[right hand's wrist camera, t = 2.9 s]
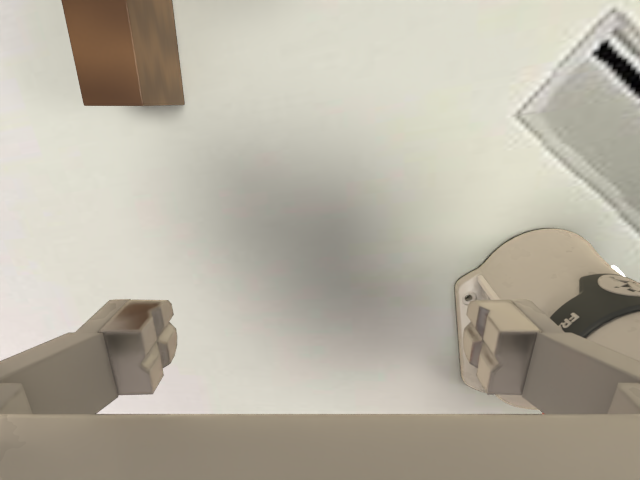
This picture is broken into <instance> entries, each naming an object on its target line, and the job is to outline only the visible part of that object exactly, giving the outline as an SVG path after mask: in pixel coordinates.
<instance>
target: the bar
mask: <svg viewBox="0 0 640 480" xmlns="http://www.w3.org/2000/svg"><path fill="white" fill-rule="evenodd" d="M62 4H63V9H64V14H65V18H66V23H67V28H68V33H69V37H70V42H71V47H72V51H73V56H74V61H75V66H76V70H77V75H78V80H79V84H80V89H81V94H82V98H83V103H84V105H85V106H154V105H184V96H183V87H182V79H181V71H180V63H179V54H178V46H177V38H176V30H175V21H174V13H173V5H172V0H62Z"/></svg>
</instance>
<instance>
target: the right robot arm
mask: <svg viewBox="0 0 640 480" xmlns="http://www.w3.org/2000/svg"><path fill="white" fill-rule="evenodd" d="M467 295H470V296H469V297H468V298H465V297H466V296H467ZM455 298H456V312H457V326H458V339H459V353H460V367H461V377H462V380H463V381H464V382H465V384H466V385H468V386H469V387H471V388H473V389H475V390H478V391H481V392H485V393H487V394H495V395H496V396H497V397H498V398H499V399H500V400H502V401H503V402H505V403H507V404H509V405H512V406H515V407H520V408H525V409H534V410H540V411H541V412H542V414H96V413H98V412H99V411H100V410H102V409H103V408H104V407H106V406H107V405H108V404H109V403H111V402H112V401H113V400H115V399H116V398H117V397H118V395H141V394H153V393H154V391H155V390H156V388H157V386H158V384H159V383H160V381H161V379H162V377H163V376H164V374H163V368H164V367H166V366H167V365H169V364H170V363H171V362H172V360H173V358H174V356H175V352H176V348H177V332H176V328H175V327H174V326H173V325H172V324H171V323H170V322H169V321H170V320H171V318H172V316H173V315H174V314H173V309H172V304H171V303H170V302H169V301H168V300H131V299H116V300H109V301H108V302H107V303H106V304H105V305H104V306H103V307H102V308H101V309H100V310H99V311H97V312H96V313H95V314H94V315H93V316H92V317H91V318H90V319H89V320H88V321H87V322H86V323H85V324H84V325H82V326H81V327H80V328H79V329H78V330H77V331H76V332H75V333H67V334H64V335H62V336H59V337H57V338H55V339H52V340H50V341H47V342H45V343H43V344H40V345H38V346H35V347H33V348H31V349H28V350H26V351H23V352H21V353H19V354H16V355H14V356H11V357H9V358H7V359H4V360H2V361H0V480H640V283H638V282H636V281H634V280H632V279H629V278H627V277H625V276H624V274H623V273H622V272H621V271H620V270H619V269H618V268H617V267H616V266H614V265H612V266H610V265H609V264H608V263H607V262H605V261H604V260H603V259H602V258H601V256H600V255H599V254H598V253H597V252H596V251H595V249H594V248H593V247H592V245H591V244H590V243H589V242H588V241H587V240H585V239H584V238H583V237H581V236H579V235H578V234H575V233H573V232H570V231H567V230H562V229H539V230H534V231H530V232H527V233H524V234H521V235H519V236H517V237H515V238H513V239H511V240H509V241H508V242H506V243H505V244H503V245H502V246H500V247H499V248H498V249H497V250H496V251H495V252H494V253H493V254H492V255H491V256H490V257H489V258H488V259H487V260H486V261H485V262H484V263H483V264H482V265H481V266H480V267H479V268H478V269H476V270H474V271H472V272H470V273H468V274H466V275H465V276H463V277H462V278H460V279H459V280H458V281H457V283H456V285H455Z"/></svg>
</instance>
